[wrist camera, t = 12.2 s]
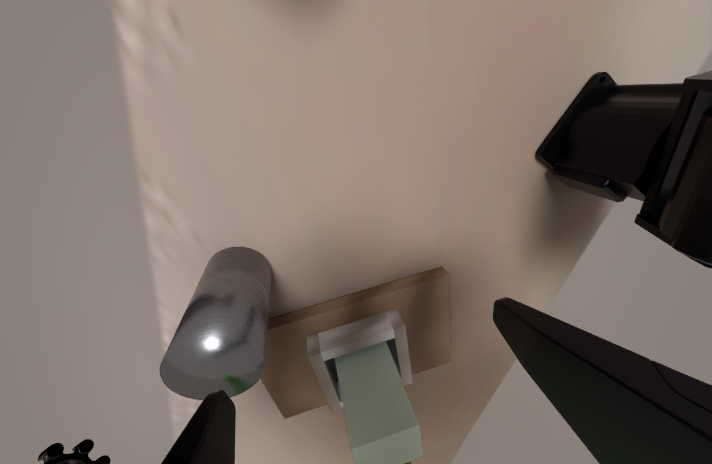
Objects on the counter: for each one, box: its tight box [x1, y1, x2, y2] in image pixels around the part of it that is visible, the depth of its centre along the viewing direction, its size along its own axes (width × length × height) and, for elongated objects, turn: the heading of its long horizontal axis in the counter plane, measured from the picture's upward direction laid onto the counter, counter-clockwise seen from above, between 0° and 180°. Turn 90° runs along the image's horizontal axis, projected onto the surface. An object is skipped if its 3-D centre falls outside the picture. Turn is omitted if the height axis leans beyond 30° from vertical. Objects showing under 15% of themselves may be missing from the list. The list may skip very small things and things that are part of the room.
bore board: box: [260, 267, 450, 418], centre depth 24 cm, size 18×12×3 cm, turn 101°
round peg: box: [160, 247, 272, 400], centre depth 16 cm, size 4×4×8 cm
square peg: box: [335, 341, 423, 464], centre depth 21 cm, size 4×4×8 cm
